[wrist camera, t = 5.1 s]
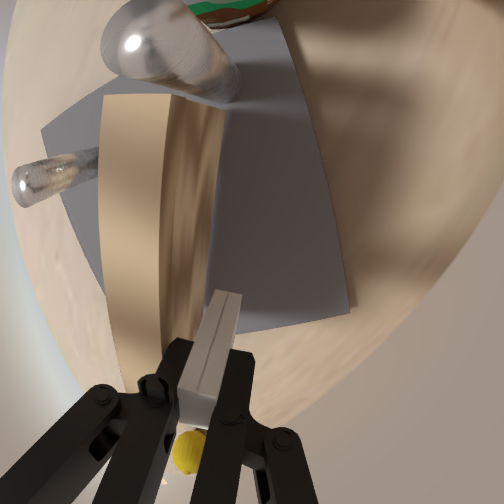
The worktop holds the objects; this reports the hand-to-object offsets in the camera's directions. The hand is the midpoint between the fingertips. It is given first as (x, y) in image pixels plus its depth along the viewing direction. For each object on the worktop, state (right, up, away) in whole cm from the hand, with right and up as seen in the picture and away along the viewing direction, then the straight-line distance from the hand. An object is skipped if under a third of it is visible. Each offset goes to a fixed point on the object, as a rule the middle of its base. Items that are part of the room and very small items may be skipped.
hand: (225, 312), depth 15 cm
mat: (-4, +7, +7) cm, 10 cm away
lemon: (-7, -23, +21) cm, 32 cm away
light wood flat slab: (-2, +5, +4) cm, 7 cm away
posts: (-5, +13, +4) cm, 15 cm away
